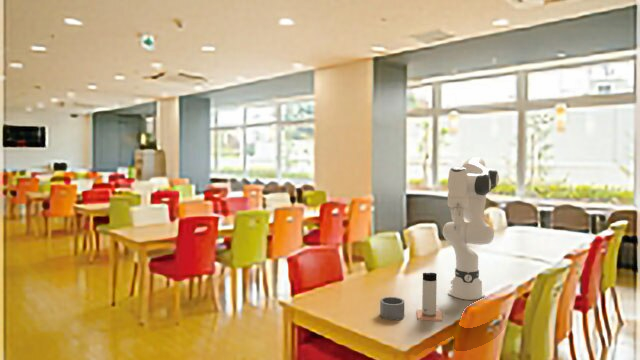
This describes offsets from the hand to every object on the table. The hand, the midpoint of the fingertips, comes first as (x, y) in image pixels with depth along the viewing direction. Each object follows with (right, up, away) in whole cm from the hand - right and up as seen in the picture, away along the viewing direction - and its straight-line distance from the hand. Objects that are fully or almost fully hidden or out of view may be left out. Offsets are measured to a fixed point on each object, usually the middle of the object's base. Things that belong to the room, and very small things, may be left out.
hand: (457, 232), depth 211 cm
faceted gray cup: (-29, -39, +3) cm, 49 cm away
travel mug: (-13, -39, +1) cm, 41 cm away
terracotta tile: (-12, -39, +2) cm, 41 cm away
